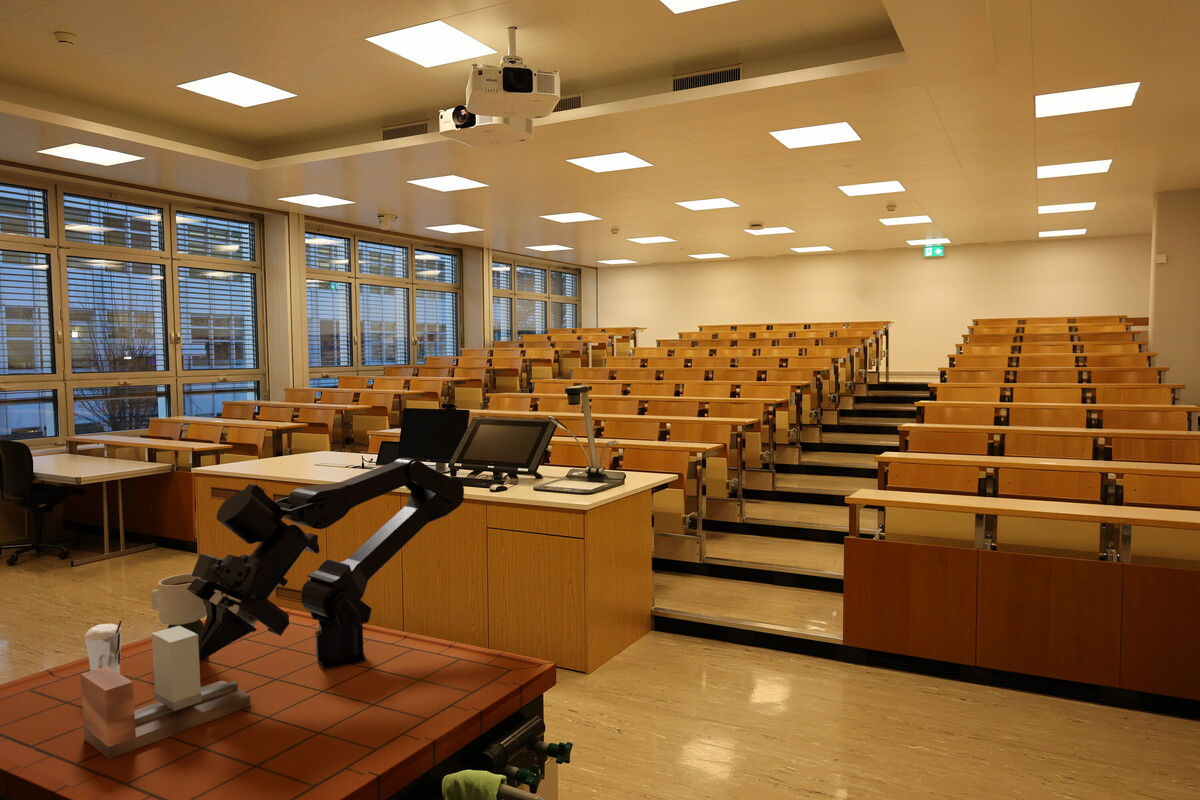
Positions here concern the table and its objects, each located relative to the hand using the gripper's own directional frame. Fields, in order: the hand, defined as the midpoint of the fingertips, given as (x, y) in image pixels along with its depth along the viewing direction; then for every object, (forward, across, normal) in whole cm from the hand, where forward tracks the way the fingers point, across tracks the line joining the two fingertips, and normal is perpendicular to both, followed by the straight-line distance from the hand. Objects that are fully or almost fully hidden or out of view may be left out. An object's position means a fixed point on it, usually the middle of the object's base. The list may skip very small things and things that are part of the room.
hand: (195, 659), depth 105 cm
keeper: (+5, 0, +2) cm, 5 cm away
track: (+8, 0, +3) cm, 8 cm away
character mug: (0, -20, +11) cm, 23 cm away
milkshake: (+8, -19, +2) cm, 21 cm away
